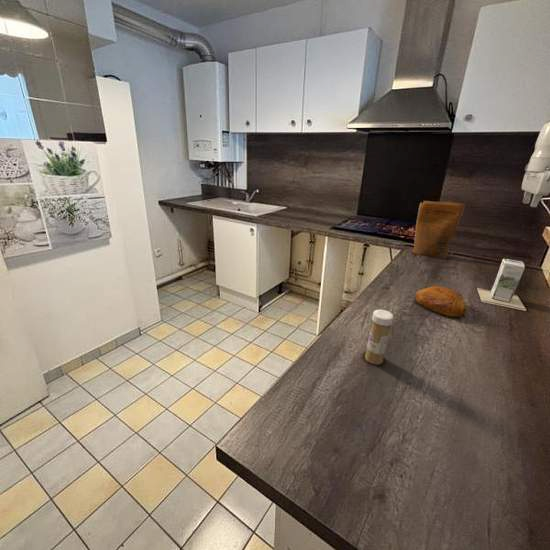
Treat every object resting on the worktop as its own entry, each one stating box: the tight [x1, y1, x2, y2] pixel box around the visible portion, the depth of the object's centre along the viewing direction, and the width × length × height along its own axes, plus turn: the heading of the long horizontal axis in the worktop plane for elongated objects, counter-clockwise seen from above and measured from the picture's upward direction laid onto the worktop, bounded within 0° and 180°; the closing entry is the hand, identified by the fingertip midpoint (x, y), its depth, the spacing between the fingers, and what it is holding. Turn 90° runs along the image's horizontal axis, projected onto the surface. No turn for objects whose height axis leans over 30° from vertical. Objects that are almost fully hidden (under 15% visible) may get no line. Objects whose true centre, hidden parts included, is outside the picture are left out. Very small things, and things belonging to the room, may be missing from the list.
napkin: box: [476, 287, 527, 312], centre depth 107 cm, size 13×13×1 cm
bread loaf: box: [415, 285, 467, 318], centre depth 99 cm, size 14×16×8 cm
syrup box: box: [491, 258, 526, 303], centre depth 104 cm, size 6×6×14 cm
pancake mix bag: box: [411, 200, 466, 260], centre depth 145 cm, size 7×19×28 cm, turn 59°
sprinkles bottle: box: [364, 309, 394, 366], centre depth 71 cm, size 5×5×14 cm
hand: (529, 204), depth 112 cm, fingers open, 8 cm apart
